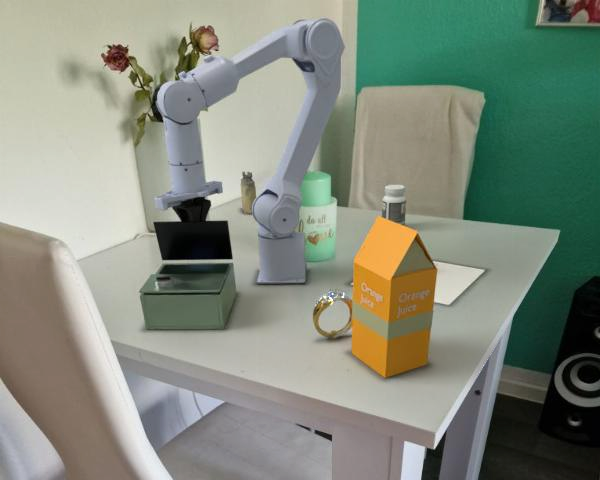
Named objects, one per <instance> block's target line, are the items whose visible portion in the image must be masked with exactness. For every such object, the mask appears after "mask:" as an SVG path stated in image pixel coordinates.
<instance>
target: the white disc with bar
mask: <svg viewBox="0 0 600 480" xmlns="http://www.w3.org/2000/svg"><path fill="white" fill-rule="evenodd" d="M154 285H155V287H156V288H169V287H172V286H173V285H174V279H173V277H172V276H159V277H156V278H155V279H154Z"/></svg>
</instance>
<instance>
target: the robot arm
mask: <svg viewBox="0 0 600 480" xmlns="http://www.w3.org/2000/svg"><path fill="white" fill-rule="evenodd" d="M345 49H346V45H345V42H344V40H343V37H342V34H341V31H340V29H339V27H338V25H337V24H336V22H334V20H332V19H330V18H328V17H319V18H316V19H297V20H296V21H294V22H292V23H291V24H287V25H286V24H285V25H284V26H281V27H279V28H277V29H275V30H273V31H271V32H270V33H268V34H266V35H265V36H263V37H262V38H260V39H259V40H257V41H256V42H254V43H252V44H251V45H249V46H247V47H246V48H245V49H243V50H242V51H240V52H239V53H236V54H235V55H234V56H232V57H230V58H227V57H225V56H223V55H220V54H218V55H216V56H214V55H213V54H208V55H207V56H205V57H203V61H204V62H203V63H201V64H200V65H198V66H196V67H195V68H193V69H191V70H189V71H188V72H186V71H184V70H183V71H181V72H179V73H178V77H179V80H168V81H166V82H164V83H163V84H162V85H161V86H160V87H159V90H158V92H157V95H156V100H155V105H156V108H157V110H158V112H159V113H160V115H161V116H163V117H162V120H163V128H164V140H165V141H164V142H165V146H166V147H165V148H166V153H167V160H168V166H169V173H170V180H171V186H172V187H171V188H172V189H171V190H168V191H167V192H164V193H163V194H160V195H157V196H155V197H153V201H154V205H155V210H157V211H163V212H165V211H167V210H169V209H170V208H171V209H172V210H173V211H174V213H175V214H176V215H177V217H178V218H179V221H207V217H208V215H209V212H210V209H211V207H212V201H211V199H207V198H206V197H210V196H212V195H216V194H217V195H219V194H224V190H223V188H224V187H223V181H220V180H219V181H218V180H211V181H207V182H206V177H205V176H206V175H205V168H204V161H203V159H204V158H203V152H202V143H201V135H200V134H201V133H200V130H199V121H198V117H199V116H200V113H201V110H202V111H205V110H207V109H208V108H210V107H211V106H213V105H215V104H218V103H219V102H220V101H222V100H224V99H226V98H227V97H230V96H231V95H233V94H234V93H236V92H237V90H238V86H239V83H240V80H242V79H243V78H245V77H247V76H249V75H250V74H252V73H255V72H256V71H258V70H260V69H262V68H264V67H266V66H268V65H270V64H272V63H274V62H276V61H278V60H280V59H282V58H283V59H287V58H288V59H291V60H292V62H293V63H294V64H295V66H296V67H297V68H298V69H299V71H300V72H301V74H302V78H303V79H304V82H305V85H306V87H307V90H306V93H305V95H304V98H303V100H302V103H301V106H300V108H299V111H298V113H297V116H296V118H295V121H294V123H293V125H292V128H291V131H290V134H289V135H288V139H287V141H286V145H285V147H284V149H283V152H282V154H281V157H280V159H279V162H278V165H277V167H276V170H275V172H274V175H273V176H272V177H271V178H270V179H269V180H267V182H266V183H265V184H264V186H263V189H262V191H261V192H260V193H259V194H258V195H256V199H255V200H254V202H253V205H252V213H251V214H252V217H253V219H254V220H255V222H257V223H258V228H257V231H256V232H257V245H258V246H257V247H258V258H259V259H258V260H259V272H258V275H257V279H256V284H259V285H261V284H264V285H265V284H304V283H305V284H306V276H307V271H308V261H307V252H306V248H307V247H306V246H307V245H306V233H305V232H303V231H302V232H300V231H296V230H297V228H298V226H299V223H300V209H301V206H302V204H303V195H302V190H301V188H302V186H303V183H304V181H305V179H306V176H307V173H308V171H309V169H310V166H311V164H312V161H313V158H314V156H315V153H316V151H317V148H318V146H319V144H320V141H321V139H322V136H323V134H324V131H325V129H326V126H327V124H328V122H329V119H330V117H331V114H332V113H333V109H334V107H335V105H336V103H337V100H338V97H339V94H340V91H341V89H342V88H341V87H342V57H343V53H344V51H345Z"/></svg>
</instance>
